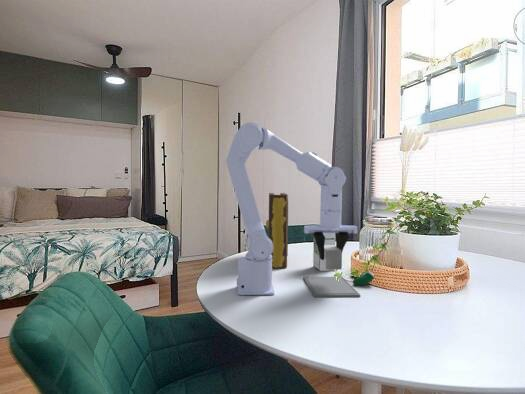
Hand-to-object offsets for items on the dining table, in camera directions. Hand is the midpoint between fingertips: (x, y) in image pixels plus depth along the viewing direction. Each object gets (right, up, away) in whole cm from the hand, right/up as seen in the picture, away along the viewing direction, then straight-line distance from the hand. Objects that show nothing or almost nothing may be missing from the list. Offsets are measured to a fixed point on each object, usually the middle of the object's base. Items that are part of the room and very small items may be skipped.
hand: (330, 258), depth 84 cm
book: (-13, -7, +29) cm, 32 cm away
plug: (0, -2, +1) cm, 2 cm away
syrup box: (+2, -7, +19) cm, 20 cm away
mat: (0, -8, 0) cm, 8 cm away
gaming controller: (+11, -8, +6) cm, 15 cm away
